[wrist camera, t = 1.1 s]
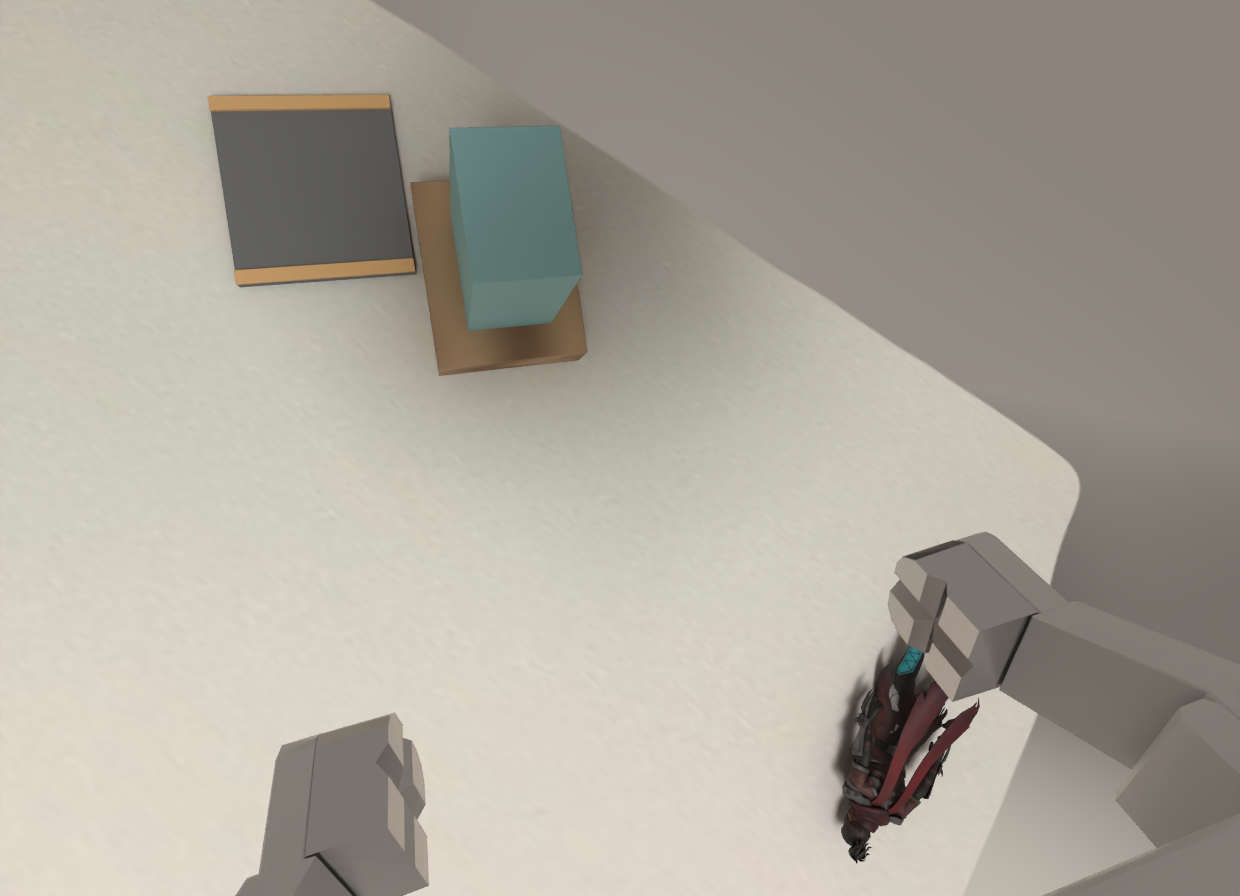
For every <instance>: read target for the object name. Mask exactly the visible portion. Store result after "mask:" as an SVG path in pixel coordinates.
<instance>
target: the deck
mask: <svg viewBox="0 0 1240 896" xmlns="http://www.w3.org/2000/svg"><path fill="white" fill-rule="evenodd" d="M410 184H411V191H412V198H413V204H414V211H415V218H416V224H417V231H418V237H419V244H420V251H421V257H422V264H423V271H424V277H425V284H426V291H427V297H428V304H429V311H430V317H431V324H432V330H433V337H434V344H435V350H436V357H437V364H438V370H439V376H441V375H450V374H458V373H467V372H476V371H485V370H494V369H503V368H511V367H520V366H529V365H538V364H547V363H556V362H564V361H573V360H579V359H580V358H581V357H582V356H583V355H584V354H585V353H587V346H586V340H585V333H584V326H583V320H582V313H581V306H580V300H579V293H578V286H577V284H576V285H575V287H574V288H573V290H572V291H571V293H570V295H569V296H568V298H567V299H566V301H565V302H564V304H563V305H562V307H561V308H560V310H559V311H558V313H557V314H556V316H555V317H554V319H553V320H552V322H551V323H546V324H536V325H526V326H515V327H505V328H495V329H485V330H474V331H468V329H467V322H466V315H465V309H464V302H463V295H462V289H461V282H460V275H459V269H458V262H457V256H456V249H455V242H454V236H453V229H452V222H451V216H450V181H433V182H410Z"/></svg>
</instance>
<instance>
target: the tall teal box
mask: <svg viewBox="0 0 1240 896" xmlns="http://www.w3.org/2000/svg"><path fill="white" fill-rule="evenodd" d="M449 139H450V216H451V222H452V229H453V236H454V242H455V249H456V256H457V262H458V269H459V275H460V282H461V289H462V295H463V302H464V309H465V315H466V322H467V329H468V331H474V330H485V329H495V328H505V327H515V326H526V325H536V324H546V323H551V322H552V320H553V319H554V317H555V316H556V314H557V313H558V311H559V310H560V308H561V307H562V305H563V304H564V302H565V301H566V299H567V298H568V296H569V295H570V293H571V291H572V290H573V288H574V287H575V285H576V284H577V282H578V281H579V279H580V278H581V276H582V270H581V264H580V257H579V250H578V244H577V237H576V230H575V224H574V217H573V210H572V204H571V197H570V191H569V184H568V177H567V171H566V164H565V157H564V151H563V144H562V137H561V131H560V126H521V127H470V128H449Z"/></svg>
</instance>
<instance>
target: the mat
mask: <svg viewBox="0 0 1240 896" xmlns="http://www.w3.org/2000/svg"><path fill="white" fill-rule="evenodd" d="M208 101H209V108H210V111H211V115H212V121H213V128H214V134H215V141H216V148H217V154H218V161H219V168H220V174H221V181H222V187H223V194H224V201H225V207H226V214H227V221H228V227H229V234H230V240H231V247H232V254H233V260H234V267H235V270H234V273H235V280H236V284H237V285H238V286H239V287H251V286H264V285H278V284H291V283H304V282H318V281H331V280H345V279H358V278H372V277H385V276H399V275H412V274H416V273H415V266H414V259H413V253H412V246H411V240H410V233H409V226H408V220H407V213H406V206H405V200H404V193H403V186H402V180H401V173H400V167H399V160H398V153H397V147H396V140H395V133H394V127H393V120H392V113H391V107H390V100H389V95H273V96H208Z"/></svg>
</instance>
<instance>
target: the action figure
mask: <svg viewBox="0 0 1240 896" xmlns="http://www.w3.org/2000/svg"><path fill="white" fill-rule="evenodd" d="M924 656H925V655H924V653H923V652H921V651H919V650H917V649H915V648H913V647H911V646H909V647H908V649H907V651H906V653H905V655H904V656H903V658H902V659H901V661H900V663H899V664H898V666H897V668H896V669H895V671H894V674H893V677H892V678H891V675H890V673H889V670H890V667H891V664H892V662H893V660H892V661H891V662H890V663H889V664H888V665H887V666H886V667H885V668H884V669H883V670H882V672H881V675H880V677H879V680H878V682H877V698H876V692H875V691H876V690H875V691H874V692H872V693H871V691H872V690H870V691H869V692H868V694H867V695H866V697H865V699H864V701H863V703H862V706H861V709H862V714H861V713H860V714H859V717H857V718H856V719H855V720H854V721H856V722H858V724H859V726H860V729H859V732H858V735H857V737H856V740H855V742H854V745H853V748H852V752H851V753H852V754H854V755H856V759H852V764H851V769H850V773H849V775H848V777H846V780H847V781H845V782H844V784H843V786H842V787H843V794H844V795H846V796H847V797H848V798H849V800H850V801H849V802H850V805H851V808H850V810H849V811H848V813H849V814H847V815H846V817H845V818H844V821H845V822H844V825H843V827H842V829H841V833H842V836H843V838H844V840H845V841H846V843H847V844H849V845H851V846H852V847H851V848H850V849H849V851H848V852H849V855H850V856H851V858H852V859H853V860H855V861H856V863H857V862H858V861H857V860H859V861H861V862H862V861H865V860H862V859H865V857H866V856H867V855H870V854H868V853H867V854H866V852H867V850H868V849H869V848H872V847H868V848H867V849H866V846H867V844H868V843H867V844H866V842H867V841H868V840H869V838H870V832H872V833H874V832H875V831H876V830H877V829H878V827H879V826H883V825H884V826H886V825H888V823H889V822H892V823H894V824H897V825H901V824H902V822H903V821H904V820H903V819H905V818H906V816H907V815H908V814H909V813H910V812H911V811H912V810H913V809H914V808H916V807H917V806H918V805H919V804H920V803H921V802H920V801H919V800H920V799H921V798H922V797H923V798H924V799H929V796H930V794H931V791H932V788H933V784H934V781H935V778H936V776H937V774H938V775H939V774H940V772H941V774H942V776H943V771H942V767H943V766H942V764H943V762H945V761H946V759H947V756H948V754H949V751H950V747H951V744H952V743H953V742H954V741H956V740H957V739H958V738H959V737H960V736H961V735H962V734H963V733H964V732H965V731H966V730H967V729H968V728H969V727H970V726H969V725H970V723H971V722H972V720H973V718H974V717H975V715H976V714H977V712H978V709H979V699H978V706H977V707H975V706H976V704H977V702H976V703H975V704H974V705H973V706H972V707H971V708H969V709H967V710H965V711H963V712H962V713H961V714H960V715H959V716H957V717H956V718H955V719H951V720H948V721H947V722H946V723H945V724H942V720H943V719H944V718H945V716H946V715H947V710H948V709H946V711H945V712H944V713H943V711H944V709H945V707H944V709H943V710H942V707H943V706H944V705H945V702H946V701H947V699H948V698H949V697H948V696H947V695H946V694H945V692H944V691H943V690H942V688H941V687H940V686H939V685H938V683H937V682H936V681H934V682H933V683H932V684H931V685H930V687H929V688H928V689H927V690H926V691H925V692H924V693H923V690H922V689H921V691H920V693H919V695H918V697H917V699H916V700H915V698H914V696H913V695H914V685H915V681H914V680H915V678H916V676H917V674H918V672H919V670H920V668H921V665H922V662H923V659H924ZM870 693H871V695H870ZM874 693H875V700H873V701H872V702H871V700H872V697H873V694H874ZM869 696H870V697H869ZM870 702H871V703H870ZM941 710H942V712H941ZM940 712H941V714H942V713H943V714H942V715H941V714H940ZM939 714H940V715H939ZM856 722H855V723H856ZM941 726H942V727H943V728H945V729H946V730H945V731H944V732H943V733H942V735H941V736H938V739H937V741H936V742H935V744H934V745H933V742H931V743H930V745H929V752H928V753H927V755H926V756H925V757H924V759H923V760H922V762H921V763H920V765H919V766H918V768H917V770H916V771H915V773H914V775H913V777H912V778H911V780H910V782H909V784H908V785H907V787H905V780H904V778H905V777H906V771H905V765H906V764H908V762H909V760H910V757H912V755H913V754H914V753H915V752H917V751H918V750H919V748H920V746H921V745H922V744H923V743H924V742H926V740H927V739H928V738H929V737H930V736H931V735H932V734H933V732H935V731H936V730H937V729H939V728H940V727H941ZM947 748H948V750H947ZM946 750H947V752H946V754H945V756H944V753H945V751H946ZM943 756H944V758H943ZM942 758H943V760H942ZM941 760H942V761H941ZM864 844H865V845H864ZM857 847H858V848H857ZM865 849H866V850H865ZM865 854H866V855H865Z"/></svg>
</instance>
